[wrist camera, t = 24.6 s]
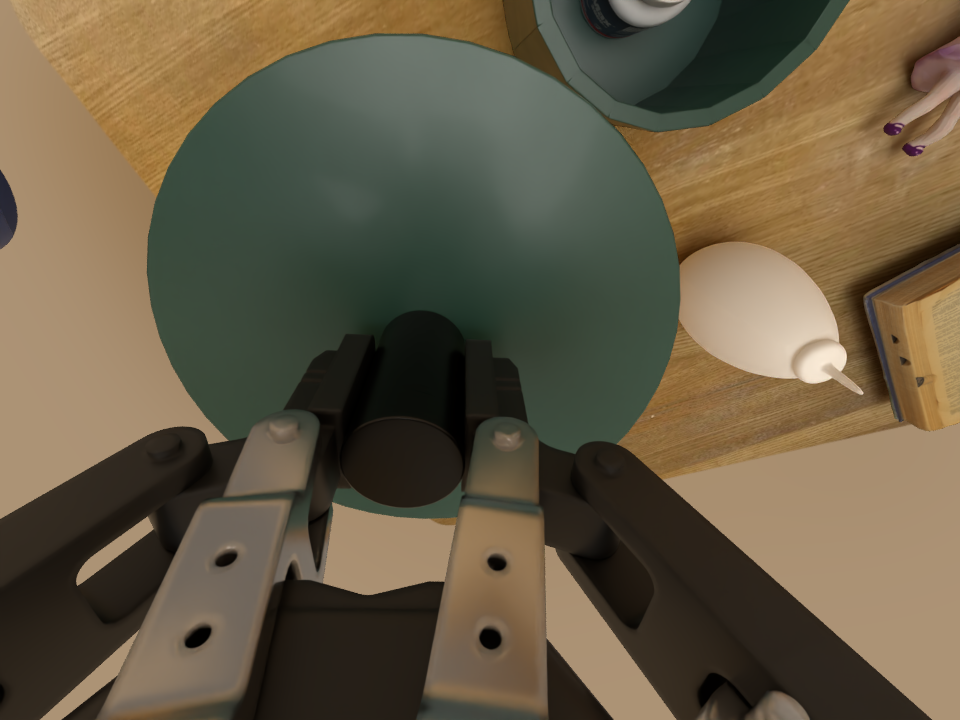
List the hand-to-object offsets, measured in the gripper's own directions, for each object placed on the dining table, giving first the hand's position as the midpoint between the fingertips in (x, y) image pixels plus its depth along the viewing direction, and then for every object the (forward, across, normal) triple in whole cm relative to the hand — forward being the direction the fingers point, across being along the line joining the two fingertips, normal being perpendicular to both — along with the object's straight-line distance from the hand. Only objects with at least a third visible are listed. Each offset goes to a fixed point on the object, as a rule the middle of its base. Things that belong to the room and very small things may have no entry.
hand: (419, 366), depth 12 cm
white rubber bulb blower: (+25, -21, +5) cm, 33 cm away
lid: (+1, 0, 0) cm, 1 cm away
